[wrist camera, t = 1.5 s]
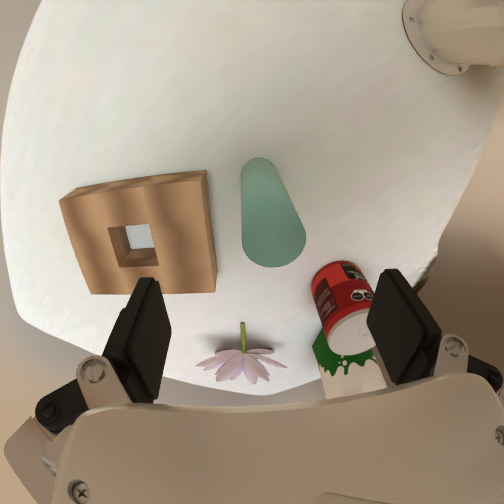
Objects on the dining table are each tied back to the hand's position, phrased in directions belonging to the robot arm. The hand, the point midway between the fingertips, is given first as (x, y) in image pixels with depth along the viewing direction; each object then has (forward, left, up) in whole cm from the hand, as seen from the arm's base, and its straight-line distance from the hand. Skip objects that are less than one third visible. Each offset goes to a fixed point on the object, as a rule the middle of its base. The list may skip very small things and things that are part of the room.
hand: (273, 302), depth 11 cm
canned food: (-12, +17, -23) cm, 31 cm away
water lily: (+3, +29, -23) cm, 37 cm away
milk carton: (-14, +29, -23) cm, 39 cm away
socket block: (+14, +7, -22) cm, 27 cm away
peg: (-1, +1, -22) cm, 23 cm away
